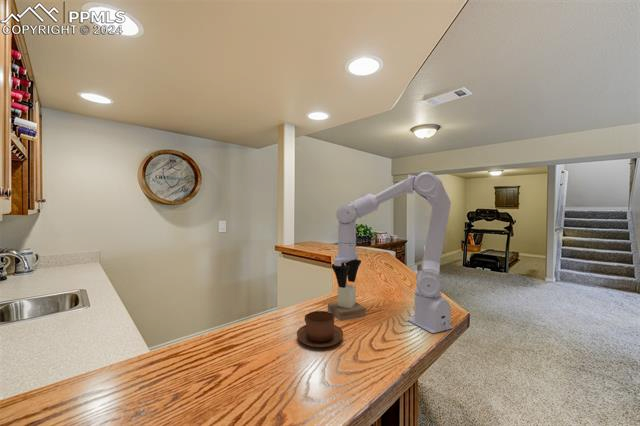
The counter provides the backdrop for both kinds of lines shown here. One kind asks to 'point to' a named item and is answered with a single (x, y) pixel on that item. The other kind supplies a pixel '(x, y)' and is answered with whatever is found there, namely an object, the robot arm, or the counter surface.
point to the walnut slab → (346, 311)
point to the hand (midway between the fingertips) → (346, 284)
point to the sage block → (347, 296)
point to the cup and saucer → (319, 330)
